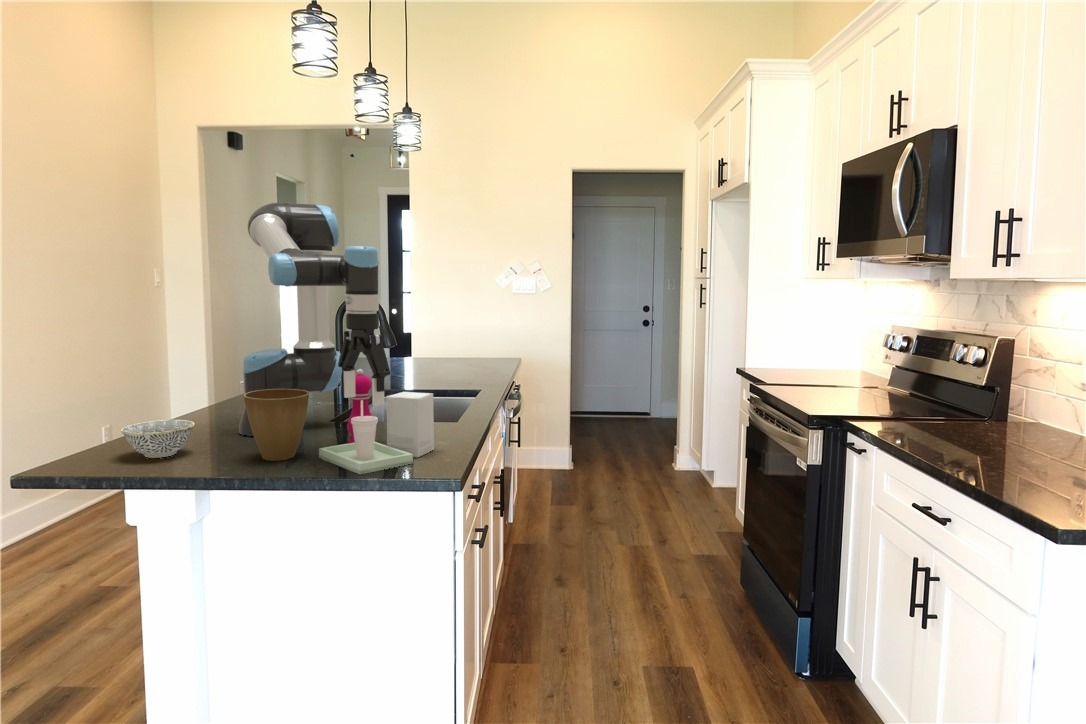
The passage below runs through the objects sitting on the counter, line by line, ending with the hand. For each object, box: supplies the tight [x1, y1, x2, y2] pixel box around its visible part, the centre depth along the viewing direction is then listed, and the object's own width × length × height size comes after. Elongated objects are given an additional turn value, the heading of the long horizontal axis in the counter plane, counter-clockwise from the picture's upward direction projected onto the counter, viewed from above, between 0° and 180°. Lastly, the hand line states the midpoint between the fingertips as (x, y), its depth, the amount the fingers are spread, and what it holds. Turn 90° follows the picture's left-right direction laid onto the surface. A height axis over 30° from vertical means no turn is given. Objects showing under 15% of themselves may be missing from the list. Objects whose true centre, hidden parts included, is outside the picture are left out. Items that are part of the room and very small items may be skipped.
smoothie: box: [351, 400, 379, 460], centre depth 172 cm, size 6×6×14 cm
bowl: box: [120, 419, 196, 458], centre depth 176 cm, size 16×16×8 cm
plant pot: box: [243, 389, 310, 462], centre depth 175 cm, size 15×15×16 cm
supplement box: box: [385, 391, 435, 458], centre depth 181 cm, size 9×9×15 cm
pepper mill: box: [346, 368, 373, 444], centre depth 191 cm, size 7×7×20 cm
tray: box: [318, 441, 414, 475], centre depth 173 cm, size 20×14×2 cm
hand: (363, 401), depth 172 cm, fingers open, 13 cm apart
